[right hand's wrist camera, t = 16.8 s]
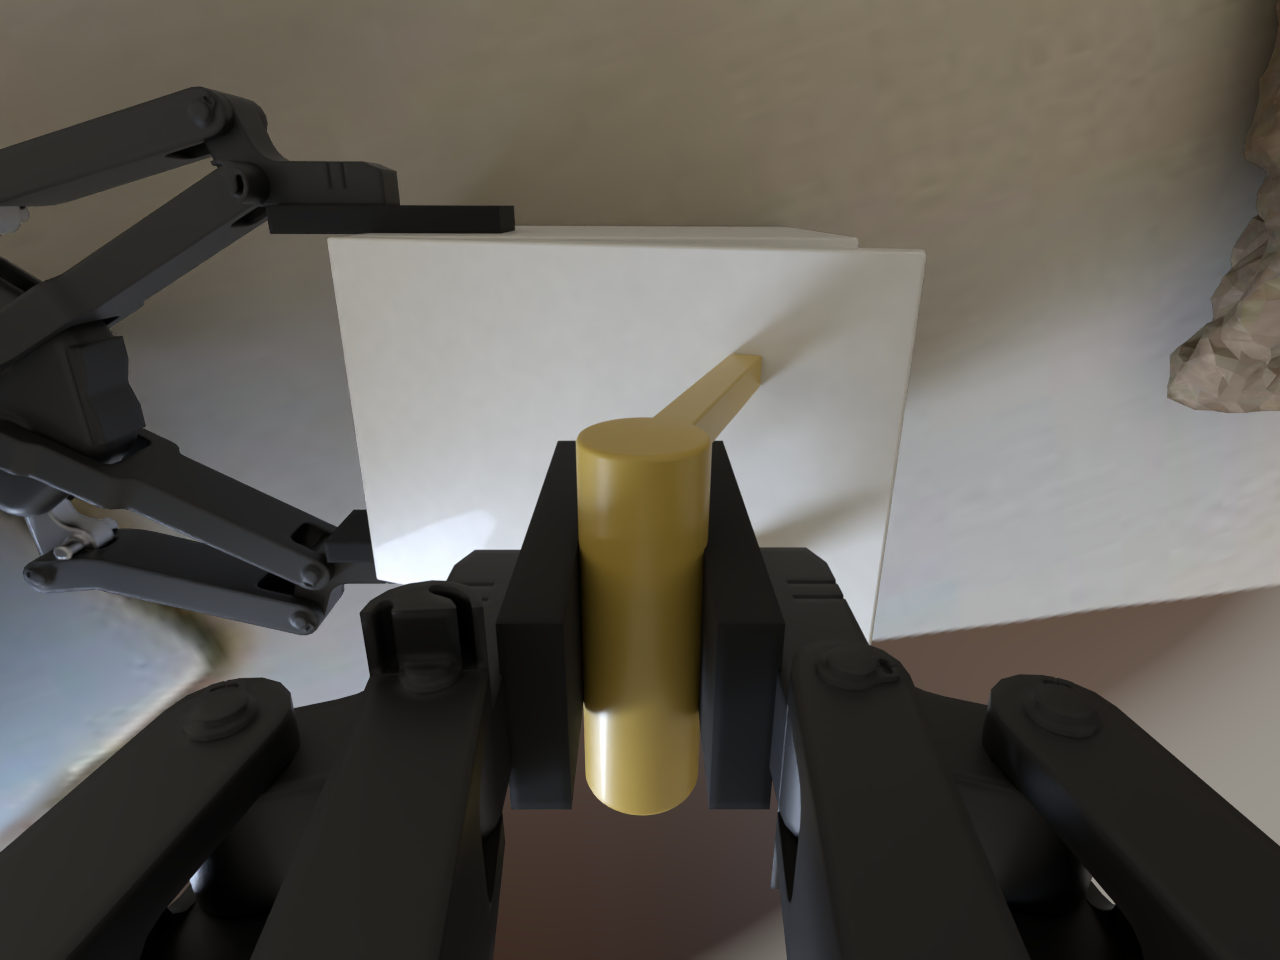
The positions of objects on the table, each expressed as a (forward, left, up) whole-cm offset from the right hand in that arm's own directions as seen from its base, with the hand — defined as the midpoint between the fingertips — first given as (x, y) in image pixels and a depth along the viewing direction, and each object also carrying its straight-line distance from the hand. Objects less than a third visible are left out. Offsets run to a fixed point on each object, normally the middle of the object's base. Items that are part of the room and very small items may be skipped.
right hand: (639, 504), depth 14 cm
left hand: (+4, 0, -9) cm, 10 cm away
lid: (+1, 0, -4) cm, 4 cm away
